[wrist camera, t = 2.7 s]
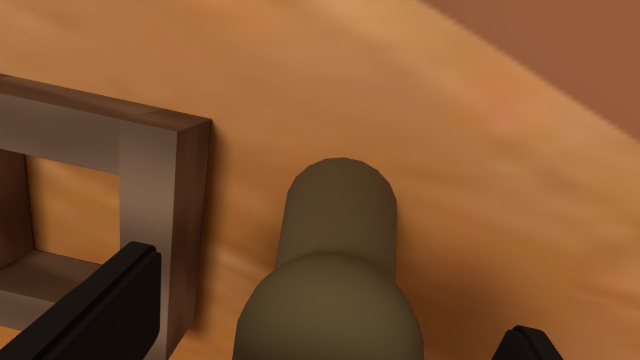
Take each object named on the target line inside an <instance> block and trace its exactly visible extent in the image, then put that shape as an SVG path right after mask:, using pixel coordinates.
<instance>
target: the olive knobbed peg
mask: <svg viewBox="0 0 640 360" xmlns="http://www.w3.org/2000/svg"><path fill="white" fill-rule="evenodd" d="M396 227H397V210H396V198H395V196H394V193H393V191H392V189H391V186H390V184H389V183H388V182H387V180H386V179H385V178H384V177H383V176H382V175H381V174H380V173H379V171H378V170H376V169H374V168H372V167H371V166H369V165H367V164H365V163H364V162H362V161H358V160H353V159H349V158H344V157H343V158H332V159H324V160H322V161H320V162H317V163H315V164H313V165H310V166H308V167H307V168H306V169H305V170H304V171H303V172H302V173H300V174H299V175H298V176H297V177H296V178H295V180H294V182H293V183H292V185H291V187H290V189H289V190H288V194H287V199H286V205H285V211H284V217H283V223H282V230H281V236H280V242H279V248H278V254H277V261H276V267H275V270H274V271H273V272H272V273H270V274H269V275H268V276H267V277H266V278H265V279H264V280H263V281H262V282H261V283H260V284H259V285H258V286H257V287H256V288H255V290H254V292H253V293H252V295H251V297H250V298H249V300H248V302H247V303H246V305H245V307H244V309H243V311H242V313H241V315H240V317H239V319H238V322H237V329H236V336H235V342H234V350H233V358H232V360H424V355H423V338H422V334H421V331H420V327H419V324H418V321H417V319H416V317H415V315H414V312H413V310H412V308H411V306H410V303H409V301H408V300H407V298H406V297H405V295H404V294H403V292H402V291H401V289H400V288H399V287H398V286H397V285H396V284H395V268H396Z"/></svg>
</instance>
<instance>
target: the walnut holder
mask: <svg viewBox="0 0 640 360" xmlns="http://www.w3.org/2000/svg"><path fill="white" fill-rule="evenodd" d="M210 127H211V119H209V118H204V117H199V116H195V115H190V114H186V113H181V112H176V111H172V110H167V109H162V108H158V107H153V106H148V105H144V104H139V103H134V102H130V101H125V100H120V99H116V98H111V97H106V96H102V95H97V94H93V93H88V92H83V91H79V90H74V89H69V88H65V87H60V86H55V85H51V84H46V83H41V82H37V81H32V80H27V79H23V78H18V77H13V76H9V75H4V74H0V326H4V327H8V328H12V329H16V330H21V331H23V330H24V329H26V328H27V327H28V326H29V325H30V324H32V323H33V322H34V321H35V320H36V319H37V318H39V317H40V316H41V315H42V314H43V313H45V312H46V311H47V310H48V309H49V308H50V307H52V306H53V305H54V304H55V303H56V302H58V301H59V300H60V299H61V298H62V297H64V296H65V295H66V294H67V293H68V292H69V291H71V290H72V289H74V288H75V287H77V286H78V285H80V284H81V283H82V282H83V281H84V280H86V279H87V278H88V277H89V276H90V275H91V274H93V273H94V272H95V271H96V270H97V269H98V268H100V267H101V266H102V265H99V264H95V263H91V262H86V261H82V260H78V259H73V258H69V257H64V256H60V255H56V254H51V253H47V252H43V251H38V250H34V245H33V236H32V226H31V217H30V208H29V199H28V189H27V180H26V171H25V162H24V154H27V155H31V156H36V157H40V158H45V159H49V160H54V161H58V162H63V163H67V164H72V165H76V166H81V167H85V168H90V169H94V170H99V171H103V172H108V173H113V174H117V175H119V177H120V250H121V249H122V248H123V247H124V246H126V245H127V244H128V243H129V242H131V241H136V242H140V243H145V244H150V245H154V246H155V247H156V251H157V252H159V253H161V256H162V263H161V310H160V331H159V335H158V337H157V339H156V341H155V343H154V344H153V346H152V347H151V349H150V350H149V352H148V353H147V355H146V356H145V358H144V360H168V359H169V358H170V356H171V355H172V353H173V351H174V350H175V348H176V347H177V345H178V343H179V342H180V340H181V339H182V337H183V335H184V334H185V332H186V331H187V329H188V328H189V326H190V324H191V323H192V321H193V320H194V314H195V303H196V291H197V279H198V268H199V256H200V244H201V233H202V221H203V209H204V197H205V186H206V174H207V162H208V151H209V139H210Z"/></svg>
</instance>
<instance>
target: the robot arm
mask: <svg viewBox="0 0 640 360" xmlns="http://www.w3.org/2000/svg"><path fill="white" fill-rule="evenodd" d="M161 263H162V256H161V253H159V252H157V251H156V247H155V246H154V245H150V244H145V243H140V242H136V241H131V242H129V243H128V244H127V245H126V246H124V247H123V248H122V249H121V250H120V251H118V252H117V253H116V254H115V255H114V256H113V257H111V258H110V259H109V260H108V261H107V262H106V263H104V264H103V265H102V266H101V267H100V268H98V269H97V270H96V271H95V272H94V273H93V274H91V275H90V276H89V277H88V278H87V279H86V280H84V281H83V282H82V283H81V284H80V285H78V286H77V287H75V288H74V289H72V290H71V291H69V292H68V293H67V294H66V295H65V296H64V297H62V298H61V299H60V300H59V301H58V302H56V303H55V304H54V305H53V306H52V307H50V308H49V309H48V310H47V311H46V312H45V313H43V314H42V315H41V316H40V317H39V318H37V319H36V320H35V321H34V322H33V323H32V324H30V325H29V326H28V327H27V328H26V329H24V330H23V331H22V332H21V333H20V334H18V335H17V336H16V337H15V338H14V339H13V340H11V341H10V342H9V343H8V344H7V345H5V346H4V347H3V348H2V349H1V350H0V360H143V359H144V358H145V356H146V355H147V353H148V352H149V350H150V349H151V347H152V346H153V344H154V343H155V341H156V339H157V337H158V335H159V331H160V310H161ZM492 360H563V358H562V357H561V355H560V354H559V353H558V351H557V350H556V348H555V347H554V345H553V344H552V342H551V341H550V339H549V338H548V337H547V335H546V334H545V333H544V332H543V331H541V330H538V329H534V328H529V327H525V326H520V325H517V326H515V327H514V328H513V329H512V330H508V331H507V332H506V333H505V335H504V337H503V339H502V341H501V343H500V345H499V347H498V349H497V350H496V352H495V354H494V356H493V358H492Z"/></svg>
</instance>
